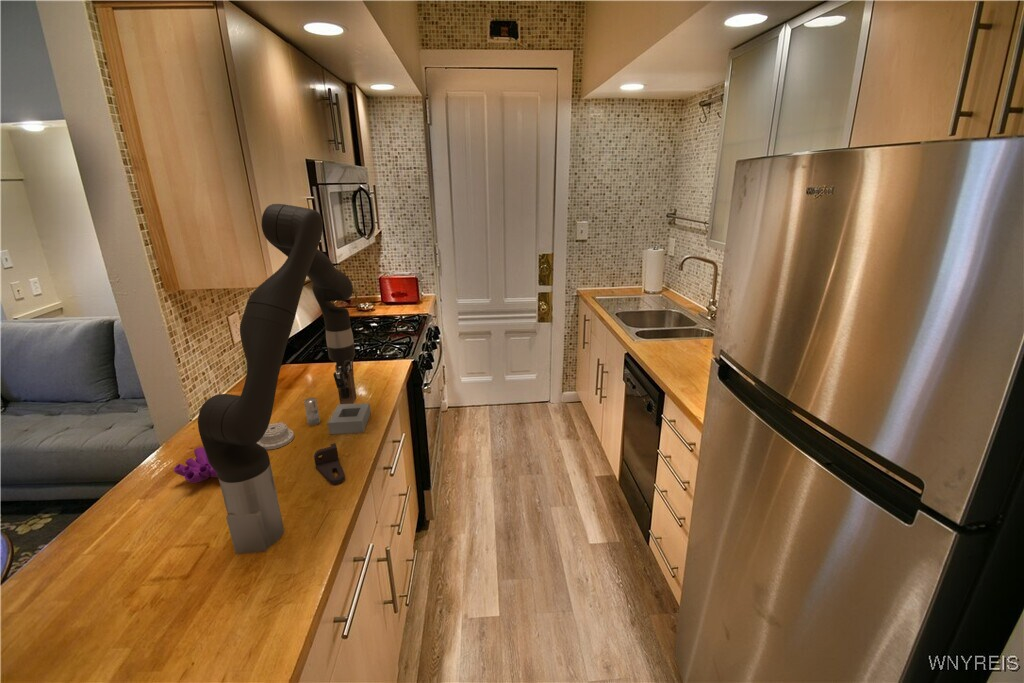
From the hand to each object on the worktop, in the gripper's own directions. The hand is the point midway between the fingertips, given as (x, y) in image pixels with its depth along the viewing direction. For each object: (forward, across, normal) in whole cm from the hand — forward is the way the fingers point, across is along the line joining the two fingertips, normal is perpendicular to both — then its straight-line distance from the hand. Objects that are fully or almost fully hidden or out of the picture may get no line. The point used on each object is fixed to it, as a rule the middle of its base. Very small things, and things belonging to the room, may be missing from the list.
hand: (347, 394), depth 139 cm
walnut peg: (+2, 0, 0) cm, 2 cm away
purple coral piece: (+10, -24, +30) cm, 40 cm away
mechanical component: (+11, -8, +20) cm, 24 cm away
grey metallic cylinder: (+10, +2, +12) cm, 16 cm away
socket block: (+10, 0, 0) cm, 10 cm away
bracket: (+11, -26, 0) cm, 28 cm away
